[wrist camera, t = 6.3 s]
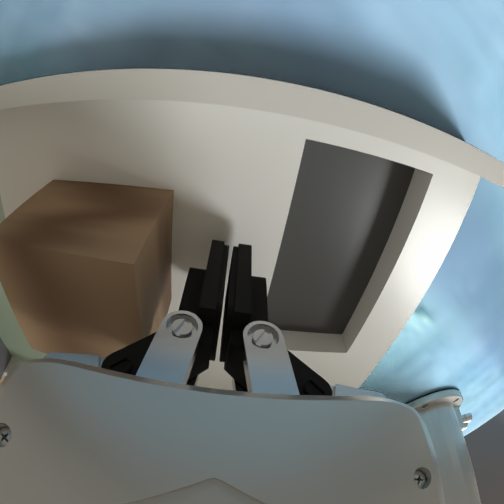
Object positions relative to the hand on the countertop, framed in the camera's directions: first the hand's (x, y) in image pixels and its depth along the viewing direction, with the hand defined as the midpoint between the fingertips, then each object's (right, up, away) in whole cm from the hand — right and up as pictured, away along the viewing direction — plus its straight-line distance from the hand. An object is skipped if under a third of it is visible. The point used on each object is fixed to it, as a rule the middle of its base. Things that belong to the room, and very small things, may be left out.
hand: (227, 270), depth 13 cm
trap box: (-5, -1, +4) cm, 7 cm away
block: (-6, +1, 0) cm, 6 cm away
